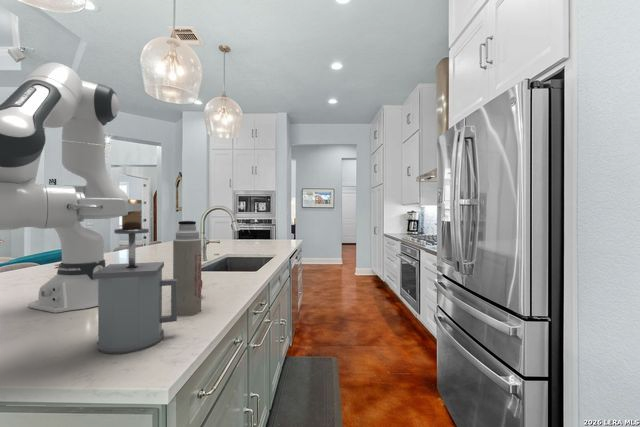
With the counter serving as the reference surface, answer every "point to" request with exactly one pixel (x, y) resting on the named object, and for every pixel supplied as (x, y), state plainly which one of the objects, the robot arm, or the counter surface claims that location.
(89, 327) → the counter surface
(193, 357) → the counter surface
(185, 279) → the thermos bottle
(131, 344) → the press carafe
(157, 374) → the counter surface
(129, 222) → the brown candle holder
